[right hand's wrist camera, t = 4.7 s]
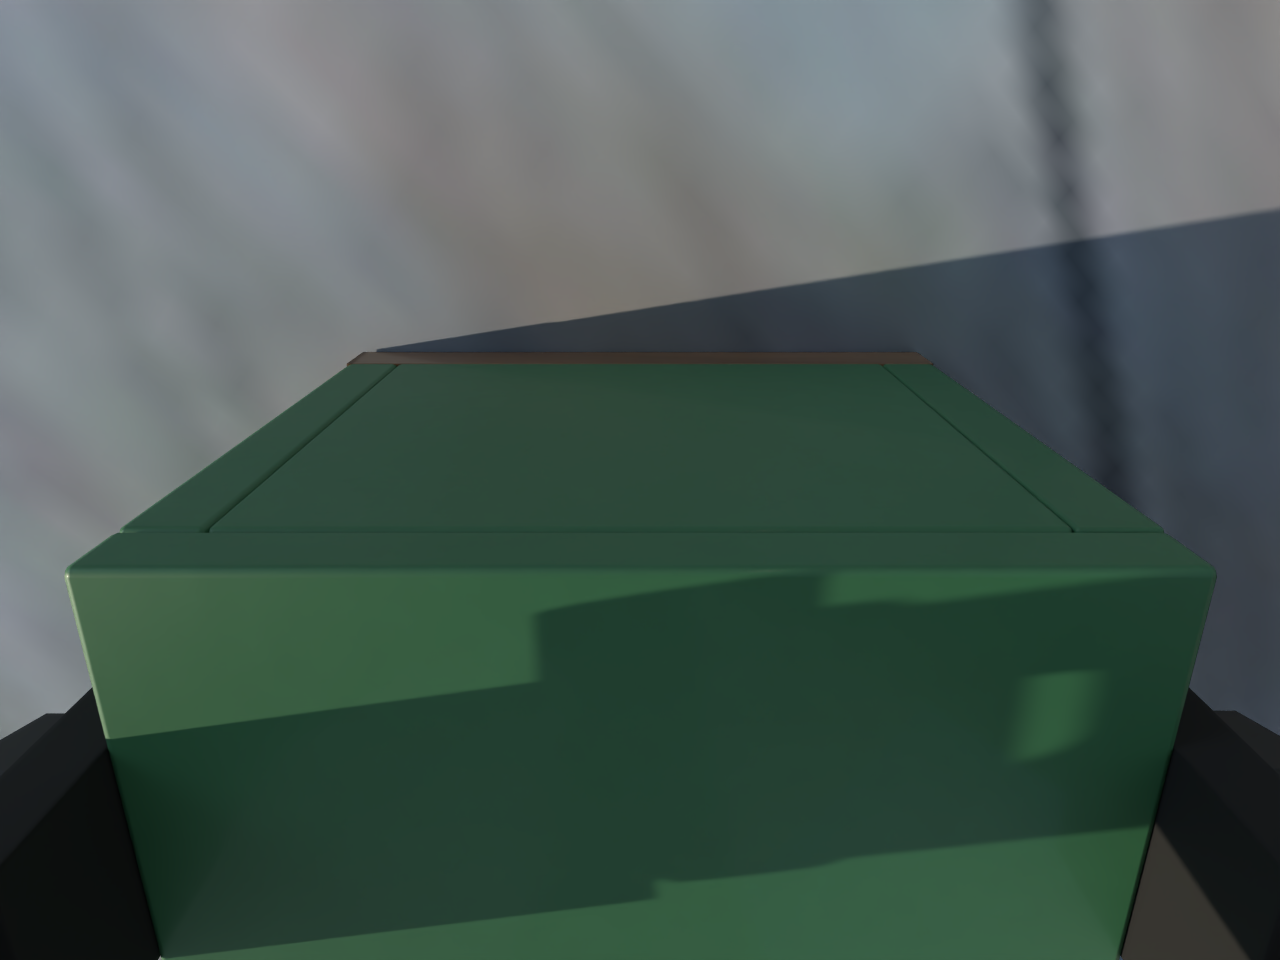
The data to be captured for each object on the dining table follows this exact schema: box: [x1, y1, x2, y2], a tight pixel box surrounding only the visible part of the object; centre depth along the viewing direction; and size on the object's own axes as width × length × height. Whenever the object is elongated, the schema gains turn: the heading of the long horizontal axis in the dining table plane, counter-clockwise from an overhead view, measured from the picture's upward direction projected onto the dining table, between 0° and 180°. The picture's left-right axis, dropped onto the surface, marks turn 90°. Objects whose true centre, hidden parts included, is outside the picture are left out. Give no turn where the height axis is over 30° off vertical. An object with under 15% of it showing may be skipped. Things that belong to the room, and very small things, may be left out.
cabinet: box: [65, 352, 1217, 960], centre depth 15 cm, size 18×10×9 cm, turn 0°
